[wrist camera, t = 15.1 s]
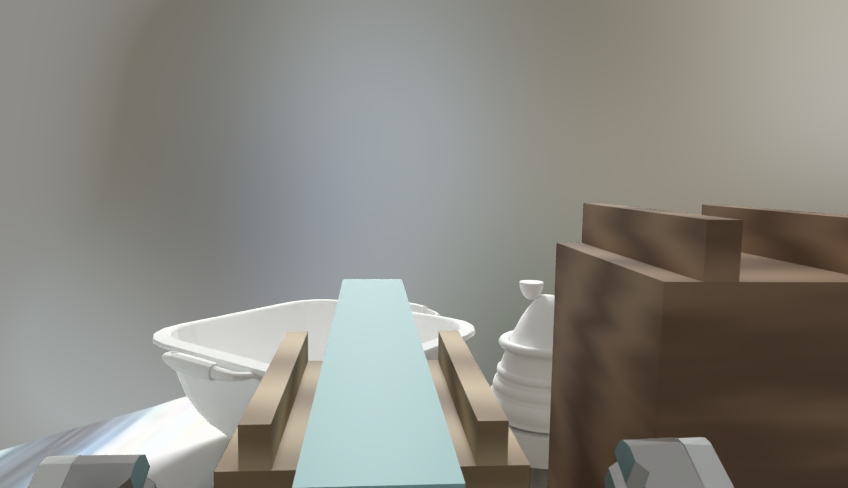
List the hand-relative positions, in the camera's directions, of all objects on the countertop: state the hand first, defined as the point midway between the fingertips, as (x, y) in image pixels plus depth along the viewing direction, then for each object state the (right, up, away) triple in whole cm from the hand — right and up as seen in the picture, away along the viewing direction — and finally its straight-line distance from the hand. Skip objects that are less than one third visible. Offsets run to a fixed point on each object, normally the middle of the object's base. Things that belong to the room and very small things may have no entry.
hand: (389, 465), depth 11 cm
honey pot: (+14, -18, +60) cm, 64 cm away
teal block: (-1, -3, +15) cm, 15 cm away
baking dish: (-11, -18, +62) cm, 65 cm away
